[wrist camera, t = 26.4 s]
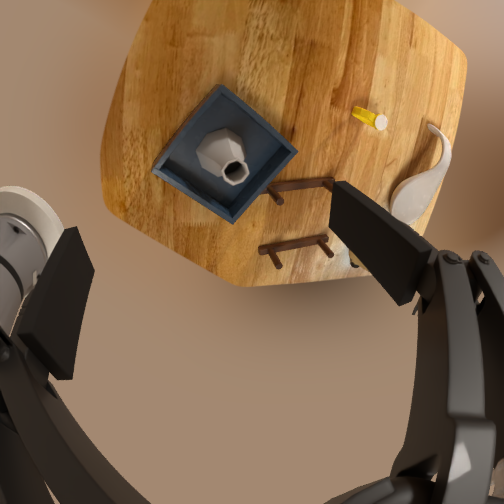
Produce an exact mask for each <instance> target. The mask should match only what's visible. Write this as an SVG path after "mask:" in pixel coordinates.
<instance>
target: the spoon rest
mask: <svg viewBox="0 0 504 504" xmlns="http://www.w3.org/2000/svg"><path fill="white" fill-rule="evenodd" d="M427 126H428V129H429V130H430V131H431V132H432V133H433V134H435V135H436V136H438V137H439V138H440V139H441V142H442V154H441V157H440V160H439V161H438V163H437V164H436V165H435V166H434V167H433V168H431V169H429V170H427V171H425V172H423V173H420V174H418V175H415V176H412V177H409V178H407V179H405V180H404V181H402V182H401V183H400V184H399V185H398V186H397V187H396V189H395V190H394V192H393V194H392V197H391V201H390V214H391V215H393V216H394V217H395V218H396V219H398V220H400V221H402V222H404V223H406V224H407V225H410V224H412V223H414V222H415V221H416V220H417V219H419V218H420V216H421V215H422V214H423V213H424V211H425V210H426V209H427V207H428V205H429V204H430V202H431V200H432V198H433V196H434V194H435V192H436V190H437V189H438V187H439V185H440V183H441V181H442V179H443V177H444V175H445V173H446V171H447V169H448V167H449V164H450V160H451V145H450V142H449V140H448V139H447V137H446V136H445V135H444V134H442V133H441V131H440V130H439V129H438V128H436V127H435V126H433V125H431V124H427Z"/></svg>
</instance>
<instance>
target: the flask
mask: <svg viewBox="0 0 504 504" xmlns="http://www.w3.org/2000/svg"><path fill="white" fill-rule="evenodd" d="M196 153H197V156H198V158H199V161H200V164H201V166H202V168H204V169H205V170H207V171H209V172H210V173H212V174H214V175H216V176H217V177H220V176H223V179H224V181H226V182H228V183H229V184H231V185H233V186H234V185H236V184H239V183H242V182H244V180H245V179H246V178H247V176H248V175H249V174H250V173H249V170H248V167H247V164H246V163H245V162H244V159H245V157H246V156H247V154H246V151H245V148H244V144H243V141H242V138H241V137H240V136H238V135H237V134H235V133H234V132H232V131H231V130H229V129H228V128H226V127H225V128H222V129H220V130H217V131H214V132H211V133H208V134H206V136H205V137H204V139H203V140H202V142H201V143H200V144H199V146H198V147H197V149H196Z"/></svg>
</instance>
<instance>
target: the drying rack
mask: <svg viewBox="0 0 504 504" xmlns="http://www.w3.org/2000/svg"><path fill="white" fill-rule="evenodd" d="M333 182H335V179H334V178H332V177H326V178H315V179H305V180H296V181H287V182H279V183H271V184H268V186H267V187H266V188H265V189H264V190H263V191H262V192H261V193H260V194H267V193H268V194H269V195H270V196H271V198H272V199H273V200H274V201H275V202H276V204H277V205H282V204H283V203H284V199H283V198H282V197H281V196H280V195H279V194H278V193H277V192H282V191H290V190H298V189H306V188H315V187H325V188H326V189H327V190H329V191H330V192H331V193H332V189H333ZM260 194H259V195H260ZM328 239H329V237H328V236H327V235H326V234H324V235H319V236H314V237H308V238H303V239H298V240H292V241H287V242H282V243H276V244H271V245H266V246H260V247H258V252H259V254H260V255H265V254H269V256H270V258H271V260H272V262H273V263H274V265H275V267H276V269H281V268H282V266H283V265H282V263H281V262H280V260H279V258H278V256H277V255H276V252H281V251H286V250H291V249H296V248H301V247H306V246H311V245H316V244H318V245H319V246H320V247H321V249H322V250H323V251H324V252H325V254H326V255H327V256H328V257H329V258H332V257H333V256H334V253H333V252H332V251H331V250H330V248H329V247H328V246H327V245H326V244H325V243H326V242H328Z"/></svg>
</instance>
